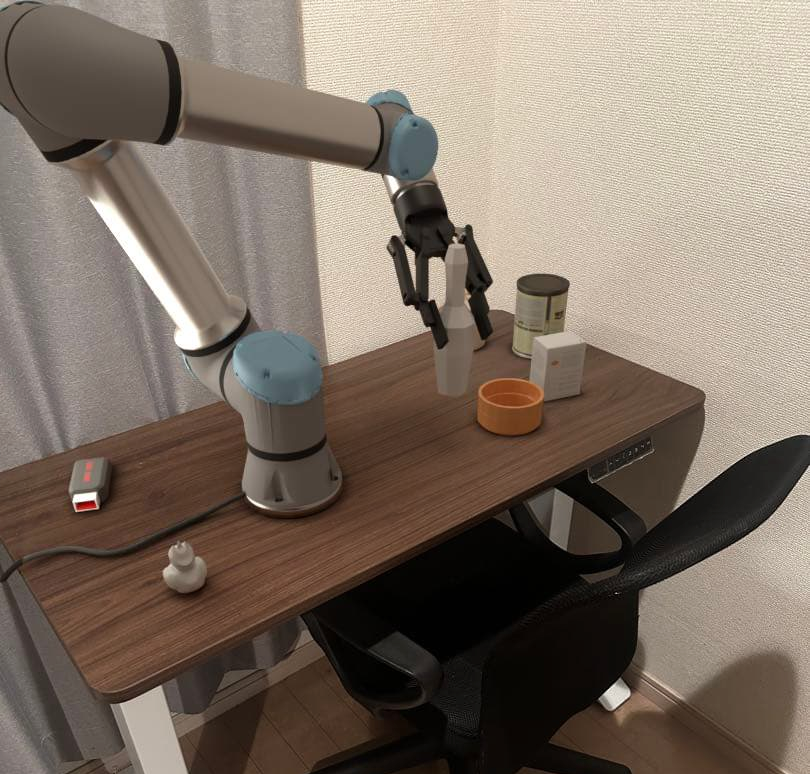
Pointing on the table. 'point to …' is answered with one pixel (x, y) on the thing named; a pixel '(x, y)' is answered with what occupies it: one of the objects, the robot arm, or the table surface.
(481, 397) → the bowl
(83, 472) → the usb drive
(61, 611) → the table surface
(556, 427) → the table surface
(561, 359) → the small box
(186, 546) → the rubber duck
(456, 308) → the low poly bottle
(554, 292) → the coffee can
